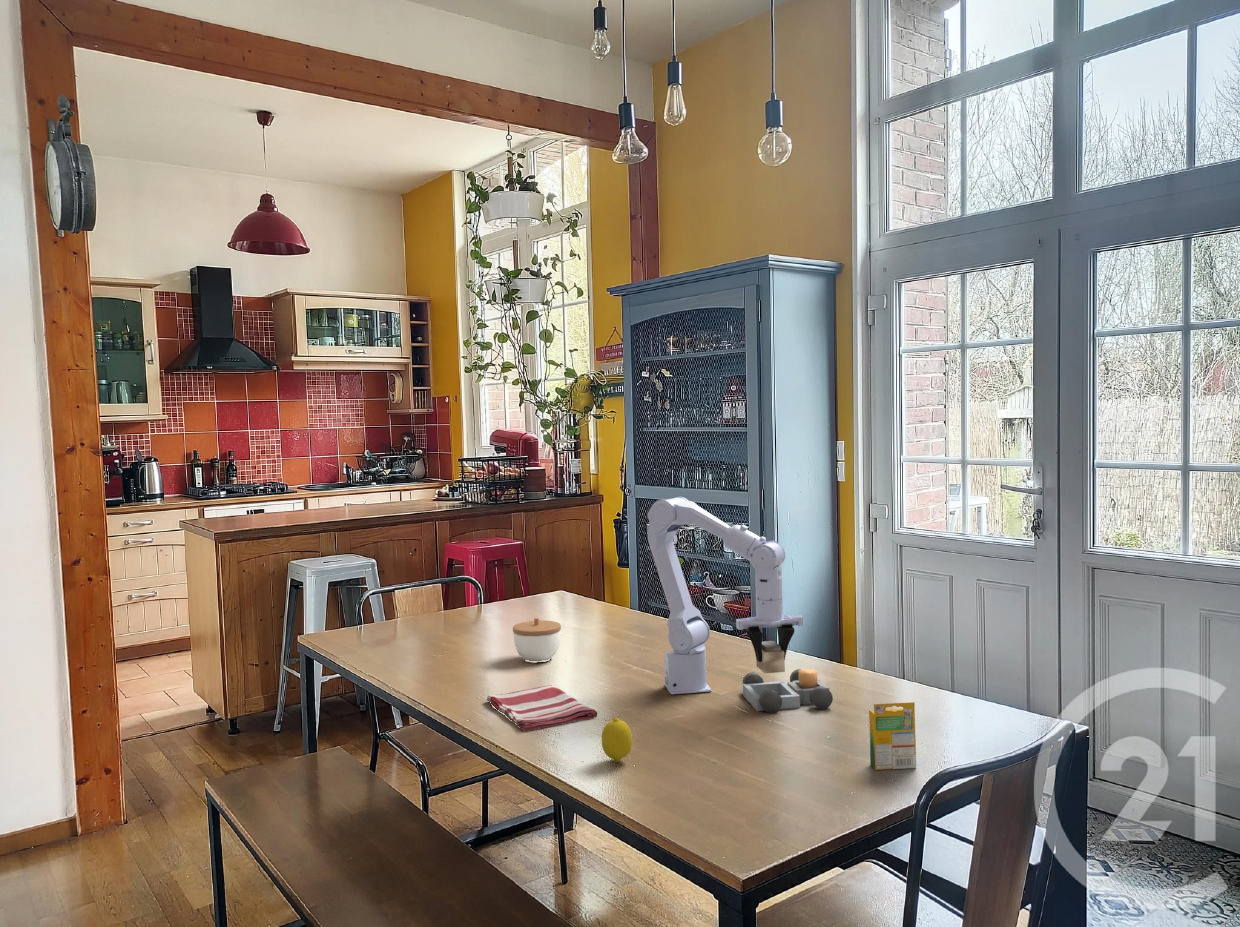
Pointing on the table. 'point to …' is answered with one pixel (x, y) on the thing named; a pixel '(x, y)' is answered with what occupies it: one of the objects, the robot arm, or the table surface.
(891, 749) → the crayon box
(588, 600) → the table surface
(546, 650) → the lidded bowl
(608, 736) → the lemon
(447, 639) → the table surface
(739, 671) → the table surface
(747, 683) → the frame
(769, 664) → the two-tone stepped block
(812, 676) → the orange rounded peg
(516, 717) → the dish towel
